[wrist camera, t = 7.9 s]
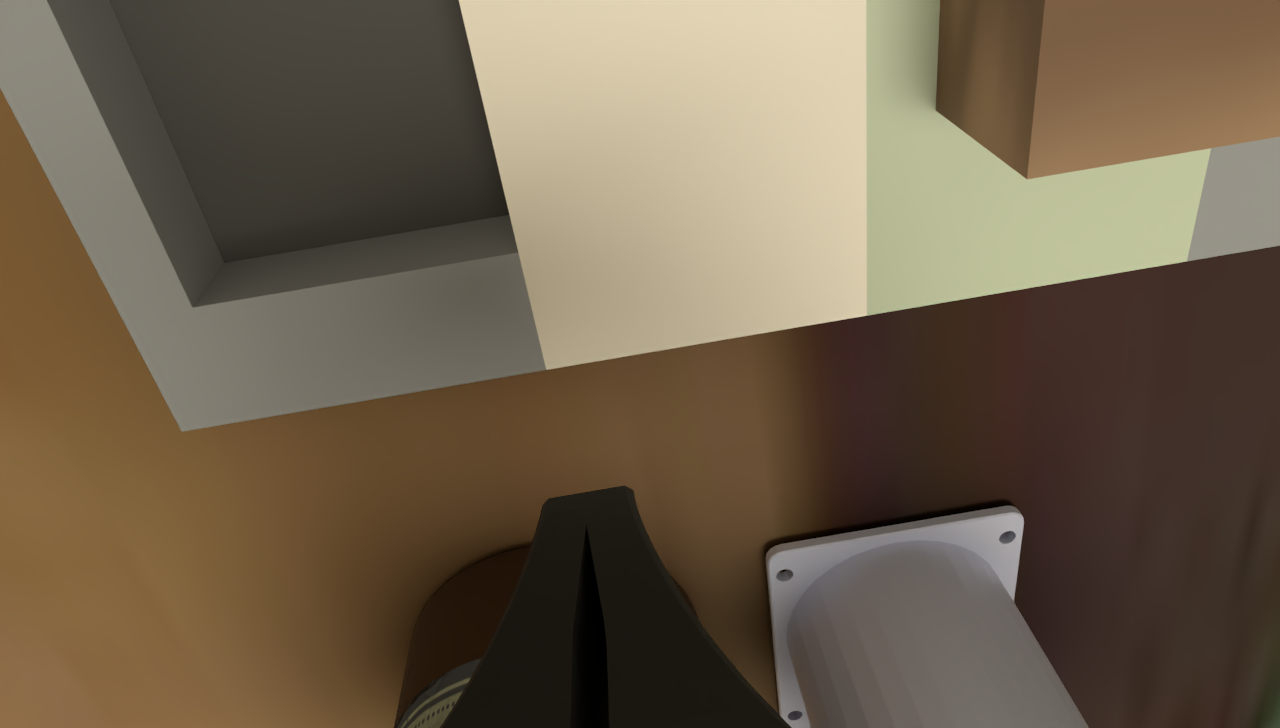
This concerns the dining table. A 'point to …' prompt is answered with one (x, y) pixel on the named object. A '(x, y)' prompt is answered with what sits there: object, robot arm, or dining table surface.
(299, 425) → the dining table surface
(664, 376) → the dining table surface
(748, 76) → the trap lane
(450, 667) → the olive oil
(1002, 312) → the dining table surface
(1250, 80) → the walnut block
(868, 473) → the dining table surface
